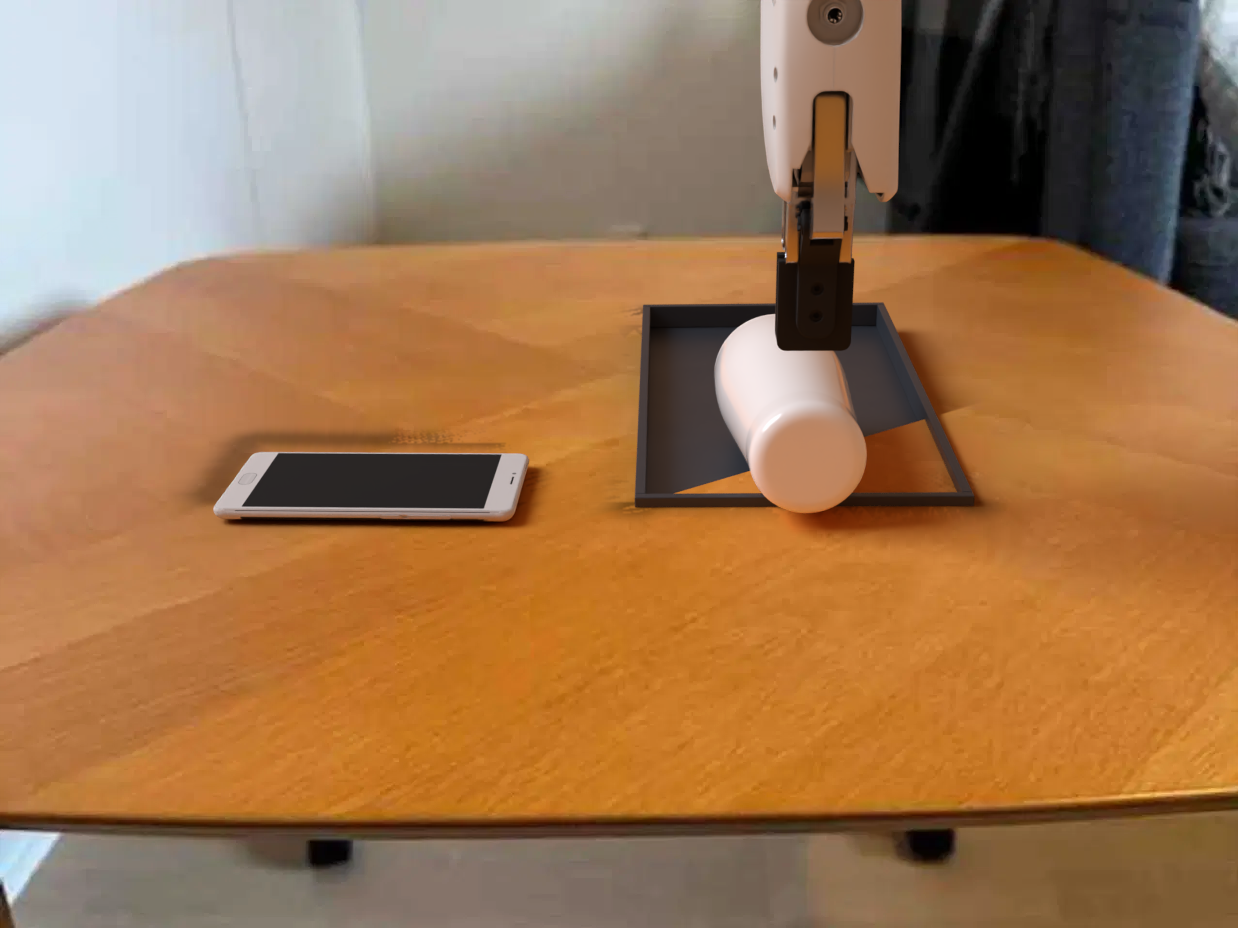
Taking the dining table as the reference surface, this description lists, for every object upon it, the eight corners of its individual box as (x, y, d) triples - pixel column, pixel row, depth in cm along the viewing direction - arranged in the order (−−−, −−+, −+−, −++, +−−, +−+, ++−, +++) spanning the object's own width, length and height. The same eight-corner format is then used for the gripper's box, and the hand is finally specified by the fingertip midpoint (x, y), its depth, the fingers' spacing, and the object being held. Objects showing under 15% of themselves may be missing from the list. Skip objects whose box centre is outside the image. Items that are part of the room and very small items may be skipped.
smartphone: (252, 450, 79) (530, 451, 78) (254, 461, 79) (530, 463, 78) (209, 509, 72) (513, 512, 71) (210, 521, 72) (513, 524, 71)
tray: (971, 534, 70) (974, 495, 69) (635, 535, 70) (634, 497, 69) (882, 330, 98) (883, 302, 97) (643, 332, 99) (642, 304, 98)
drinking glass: (745, 543, 67) (721, 440, 81) (892, 520, 66) (843, 421, 81) (724, 402, 65) (704, 322, 79) (877, 378, 64) (829, 302, 78)
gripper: (957, -95, 50) (923, 406, 57) (899, -110, 64) (877, 295, 71) (738, -91, 50) (731, 406, 58) (726, -107, 64) (722, 296, 71)
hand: (812, 344), depth 64 cm, fingers closed
